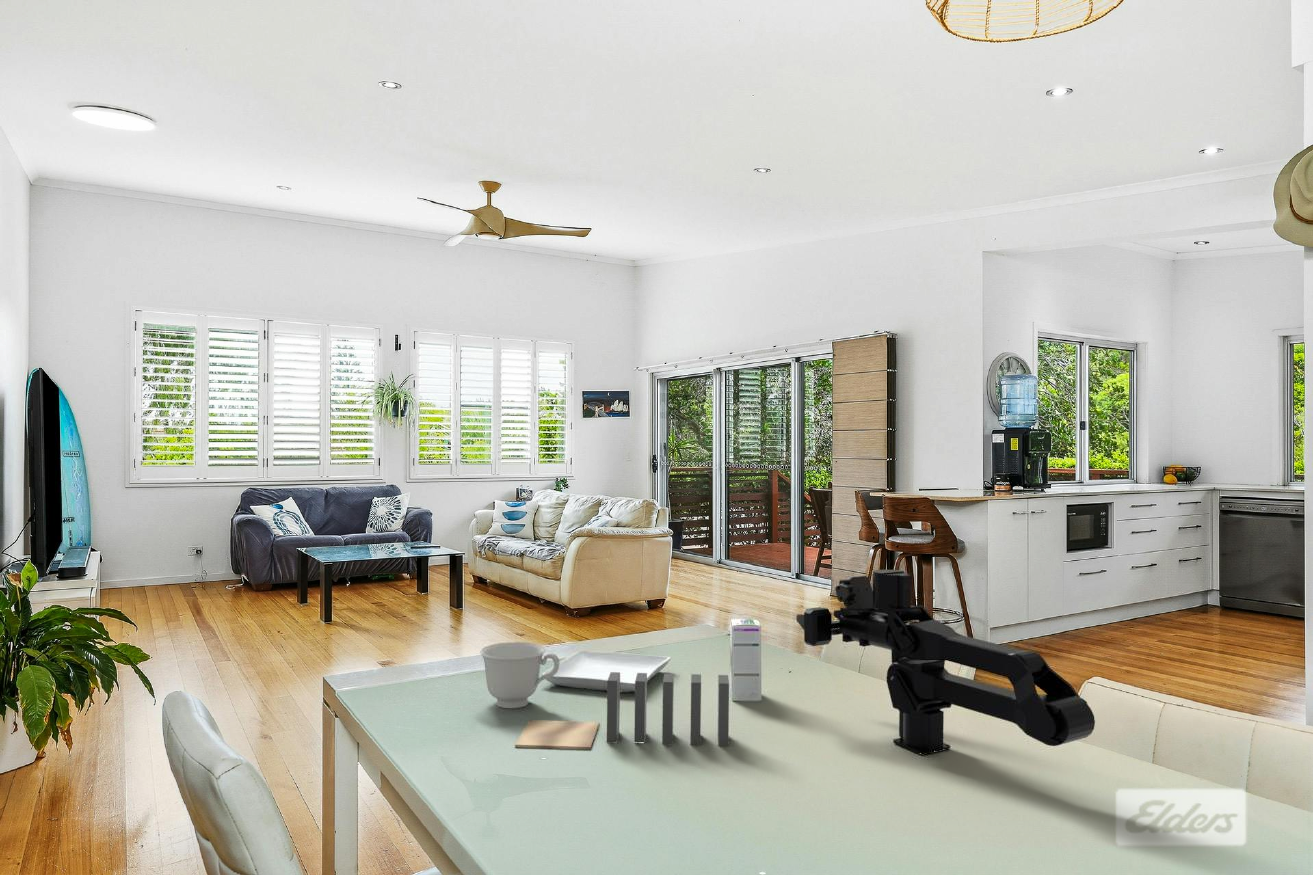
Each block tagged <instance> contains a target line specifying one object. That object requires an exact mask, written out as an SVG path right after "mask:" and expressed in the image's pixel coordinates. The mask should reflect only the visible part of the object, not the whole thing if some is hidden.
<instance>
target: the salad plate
mask: <svg viewBox="0 0 1313 875" xmlns="http://www.w3.org/2000/svg"><path fill="white" fill-rule="evenodd" d="M670 661H671V656H664V655H663V656H662V655H652V654H651V655H649V654H640V653H629V652H628V653H627V652H611V651H596V650H595V651H593V650H591V651H590V650H579V651H576V652H575V653H573V654H571V655H570V656H568V657H566V658H564V659H563V660H561V661H559V669H558V671H557V673H556V674H555V675H554V676H552V677H550V678H547V679H545V681H548V682H549V683H551V684H554V685H556V686H563V687H567V688H575V689H576V688H577V689H584V688H587V689H586V690H594V689H597V690H596V691H604V690H607V680H608V678H609V675H610V673H611V672H620V691H622V692H621V693H631V691H632V692H635V680H636V676H637V673H647V682H648V681H649V680H651V679H652V678H653V677H654V676H656V674H657V673H659V672H660V671H661V670H663V669H664V668H665V667H666V666H667V665H668V664H669V662H670ZM553 668H554V665H553V666H552V667H550V668H549V669H546V670H545V671H544V672H542V673H541V676H543V675H545V674H547V673H549V672H551V671H552V670H553Z"/></svg>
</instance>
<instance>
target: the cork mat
mask: <svg viewBox="0 0 1313 875" xmlns="http://www.w3.org/2000/svg"><path fill="white" fill-rule="evenodd" d="M598 726H599V727H600V721H574V720H572V721H569V720H540V719H539V720H537V719H536V720H535V719H533V720H532V719H530V720H529V721H528V723H527V724H526V726H525V727H524V730H523V731H522V732H521V734H520V736H519V738H518V740H516V742H515V745H514V748H525V749H531V748H532V749H562V750H563V749H564V750H588V749H590V750H591V748H592V746H593V744H592V743H594V741H595V739H596V738H595V737H596V735H597V732H598V730H597V729H599V727H598ZM593 740H594V741H593Z"/></svg>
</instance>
